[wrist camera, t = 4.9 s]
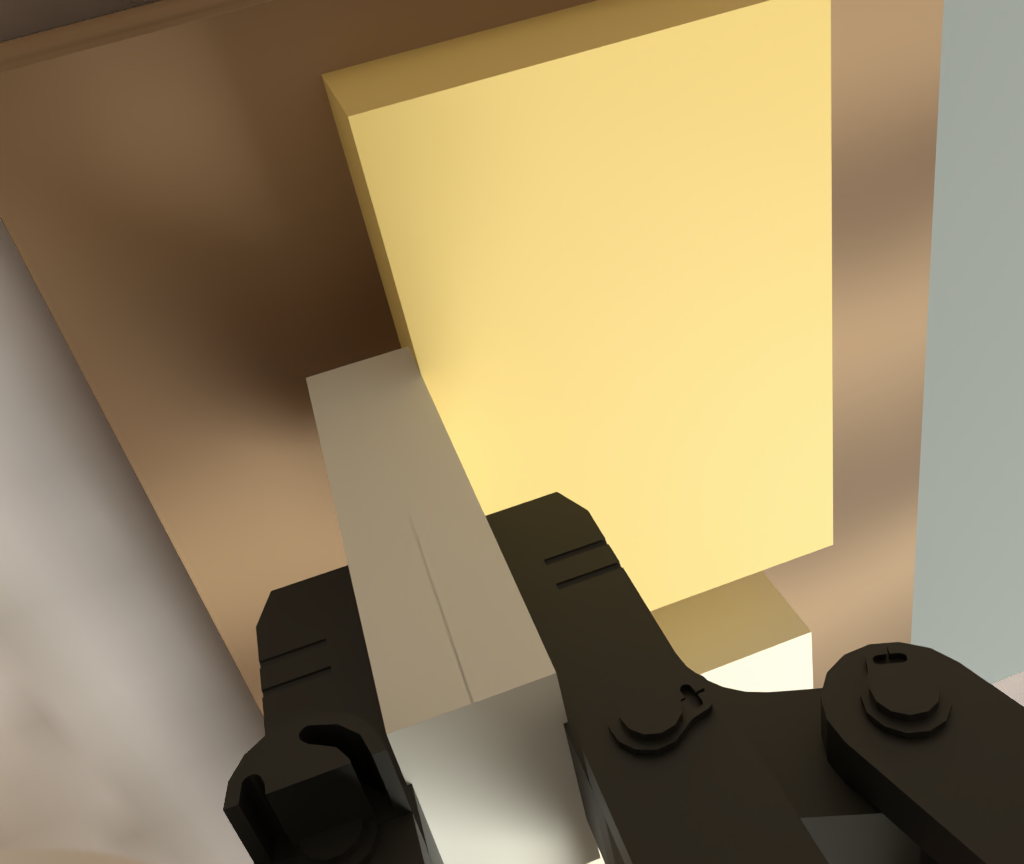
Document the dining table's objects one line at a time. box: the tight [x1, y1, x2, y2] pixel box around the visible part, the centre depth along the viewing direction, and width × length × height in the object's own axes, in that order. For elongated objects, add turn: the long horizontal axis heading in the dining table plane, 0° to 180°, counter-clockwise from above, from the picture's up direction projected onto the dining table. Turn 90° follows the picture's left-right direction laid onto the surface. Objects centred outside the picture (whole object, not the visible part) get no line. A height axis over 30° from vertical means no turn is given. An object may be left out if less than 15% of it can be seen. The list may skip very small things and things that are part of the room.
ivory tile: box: [587, 571, 813, 864], centre depth 21 cm, size 9×6×2 cm, turn 12°
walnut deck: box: [0, 0, 944, 717], centre depth 20 cm, size 22×14×3 cm, turn 12°
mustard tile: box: [321, 0, 833, 611], centre depth 15 cm, size 9×6×2 cm, turn 11°
